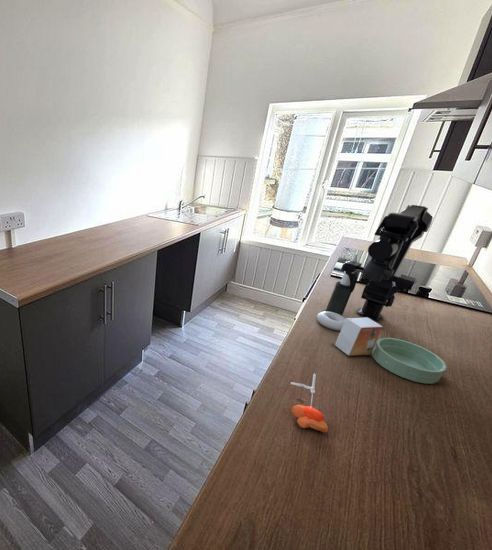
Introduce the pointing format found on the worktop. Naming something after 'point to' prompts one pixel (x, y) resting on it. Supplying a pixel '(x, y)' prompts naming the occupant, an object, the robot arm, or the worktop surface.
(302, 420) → the orange lobed stemmed ornament
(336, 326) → the donut
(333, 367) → the worktop surface
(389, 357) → the bowl
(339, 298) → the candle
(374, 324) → the small box
